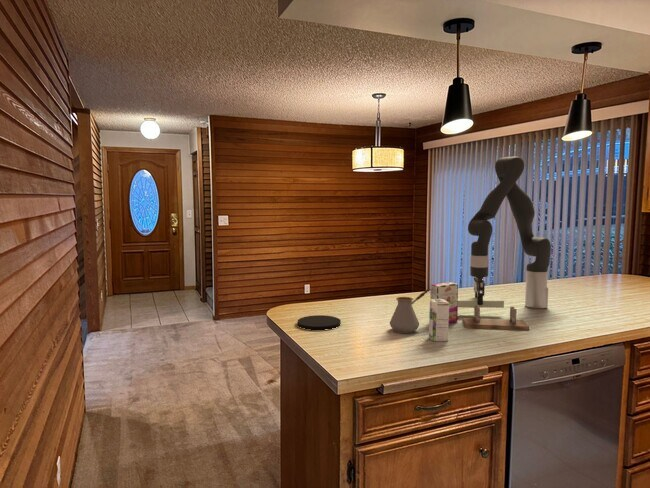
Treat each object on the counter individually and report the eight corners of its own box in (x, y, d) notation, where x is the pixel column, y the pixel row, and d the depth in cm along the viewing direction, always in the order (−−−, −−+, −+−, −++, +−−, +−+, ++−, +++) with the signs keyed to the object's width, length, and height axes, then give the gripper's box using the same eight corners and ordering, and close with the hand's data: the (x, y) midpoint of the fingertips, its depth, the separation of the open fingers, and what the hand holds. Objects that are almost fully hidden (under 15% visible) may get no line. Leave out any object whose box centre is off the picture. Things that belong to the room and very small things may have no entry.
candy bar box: (449, 319, 195) (450, 281, 194) (457, 322, 191) (458, 283, 189) (429, 322, 190) (429, 284, 189) (437, 325, 186) (438, 286, 184)
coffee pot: (405, 336, 171) (405, 297, 169) (383, 330, 180) (383, 292, 178) (441, 326, 184) (441, 290, 182) (419, 321, 193) (419, 286, 191)
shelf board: (500, 304, 203) (500, 297, 203) (503, 307, 197) (504, 300, 197) (454, 304, 206) (454, 297, 205) (456, 307, 200) (456, 300, 199)
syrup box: (428, 337, 170) (428, 298, 169) (443, 336, 171) (444, 298, 169) (433, 341, 164) (433, 302, 163) (448, 341, 165) (449, 301, 164)
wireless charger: (336, 319, 198) (336, 314, 198) (344, 330, 181) (344, 325, 181) (295, 320, 195) (295, 316, 195) (300, 332, 178) (300, 327, 178)
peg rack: (522, 323, 188) (523, 305, 187) (529, 330, 178) (529, 311, 178) (462, 321, 192) (462, 303, 191) (465, 327, 182) (466, 309, 182)
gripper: (491, 268, 192) (490, 307, 194) (485, 263, 206) (484, 299, 208) (472, 267, 193) (472, 306, 195) (468, 263, 207) (467, 299, 209)
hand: (478, 302), depth 201 cm, fingers closed on shelf board, 6 cm apart
